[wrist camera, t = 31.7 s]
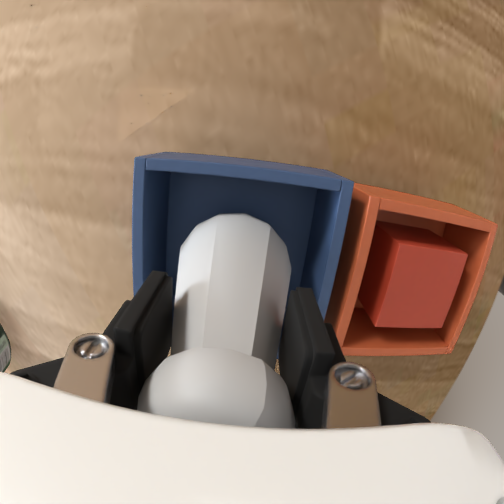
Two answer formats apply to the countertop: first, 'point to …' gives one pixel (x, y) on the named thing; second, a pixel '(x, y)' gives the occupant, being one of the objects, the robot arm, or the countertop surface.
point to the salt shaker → (226, 328)
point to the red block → (409, 277)
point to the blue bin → (239, 201)
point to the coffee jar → (4, 350)
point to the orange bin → (355, 257)
